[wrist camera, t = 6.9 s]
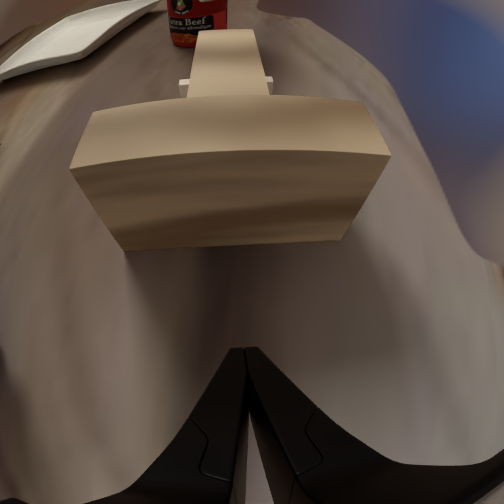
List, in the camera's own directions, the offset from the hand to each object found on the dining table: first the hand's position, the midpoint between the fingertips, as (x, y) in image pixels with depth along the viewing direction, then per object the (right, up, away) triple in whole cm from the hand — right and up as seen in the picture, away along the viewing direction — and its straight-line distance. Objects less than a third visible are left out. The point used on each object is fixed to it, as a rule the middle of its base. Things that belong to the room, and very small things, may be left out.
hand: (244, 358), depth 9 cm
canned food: (-7, +33, +23) cm, 41 cm away
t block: (-2, +10, +12) cm, 16 cm away
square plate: (-33, +42, +27) cm, 60 cm away
